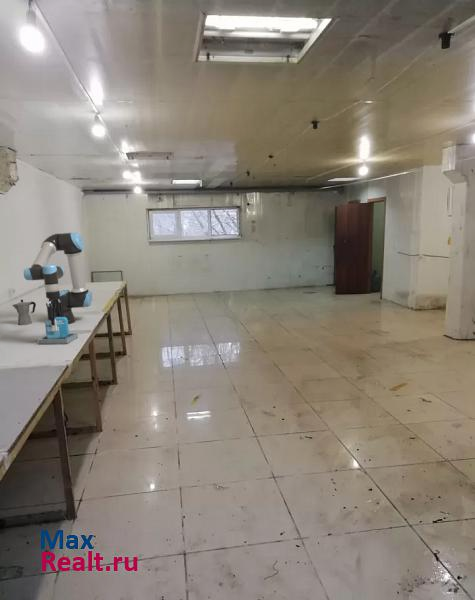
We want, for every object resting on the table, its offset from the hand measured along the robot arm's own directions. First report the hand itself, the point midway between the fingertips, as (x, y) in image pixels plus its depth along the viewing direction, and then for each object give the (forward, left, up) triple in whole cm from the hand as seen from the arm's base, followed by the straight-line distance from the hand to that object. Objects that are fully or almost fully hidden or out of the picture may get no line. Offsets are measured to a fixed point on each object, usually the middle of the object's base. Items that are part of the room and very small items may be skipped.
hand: (57, 328), depth 255 cm
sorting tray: (0, 0, -8) cm, 8 cm away
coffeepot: (-50, -51, -8) cm, 72 cm away
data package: (0, 0, -6) cm, 6 cm away
